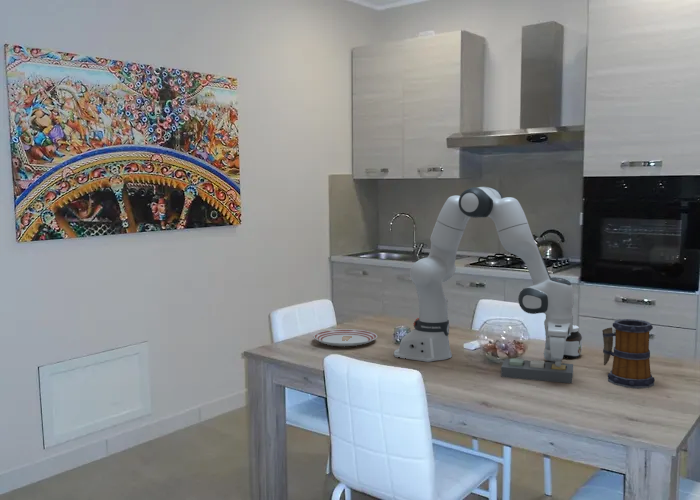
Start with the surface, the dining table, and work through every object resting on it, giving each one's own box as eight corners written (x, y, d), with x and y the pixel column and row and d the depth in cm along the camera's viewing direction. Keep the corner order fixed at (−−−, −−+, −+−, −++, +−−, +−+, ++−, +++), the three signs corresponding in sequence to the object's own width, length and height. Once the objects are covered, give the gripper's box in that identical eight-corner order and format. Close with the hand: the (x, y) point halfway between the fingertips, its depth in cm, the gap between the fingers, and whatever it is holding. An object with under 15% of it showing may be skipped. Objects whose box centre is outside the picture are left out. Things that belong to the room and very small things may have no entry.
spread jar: (571, 360, 234) (571, 330, 233) (544, 355, 243) (544, 325, 242) (587, 354, 242) (588, 325, 241) (560, 349, 251) (561, 320, 249)
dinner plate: (338, 332, 287) (338, 325, 287) (389, 340, 271) (389, 332, 271) (300, 345, 265) (299, 337, 265) (352, 354, 249) (352, 346, 249)
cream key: (530, 369, 216) (530, 363, 215) (531, 365, 220) (531, 359, 219) (543, 370, 214) (543, 364, 214) (544, 366, 218) (544, 361, 218)
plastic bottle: (563, 364, 230) (564, 310, 228) (544, 363, 231) (545, 310, 229) (561, 359, 236) (562, 307, 234) (542, 358, 237) (543, 306, 235)
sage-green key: (509, 367, 218) (509, 361, 218) (510, 363, 222) (510, 358, 222) (522, 368, 217) (522, 362, 216) (523, 364, 221) (523, 359, 220)
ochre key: (551, 373, 213) (551, 367, 213) (552, 369, 217) (552, 364, 217) (565, 374, 212) (565, 368, 211) (565, 370, 216) (565, 365, 215)
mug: (587, 374, 217) (588, 317, 215) (618, 369, 223) (619, 313, 221) (632, 391, 199) (633, 329, 197) (664, 384, 205) (667, 324, 203)
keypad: (501, 376, 216) (501, 366, 216) (505, 368, 226) (505, 358, 226) (571, 383, 208) (572, 373, 207) (573, 374, 218) (573, 364, 218)
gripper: (551, 318, 224) (550, 356, 225) (547, 331, 205) (546, 372, 206) (570, 320, 221) (569, 358, 223) (567, 333, 202) (566, 374, 204)
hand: (558, 365), depth 214 cm, fingers closed
